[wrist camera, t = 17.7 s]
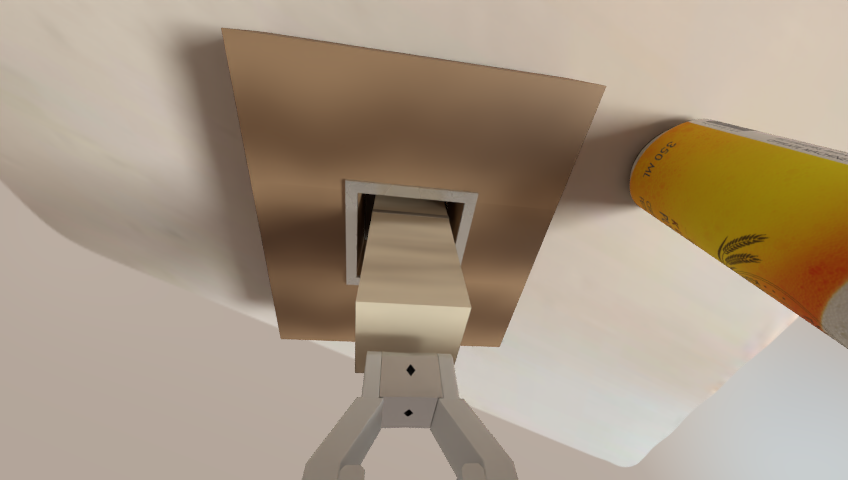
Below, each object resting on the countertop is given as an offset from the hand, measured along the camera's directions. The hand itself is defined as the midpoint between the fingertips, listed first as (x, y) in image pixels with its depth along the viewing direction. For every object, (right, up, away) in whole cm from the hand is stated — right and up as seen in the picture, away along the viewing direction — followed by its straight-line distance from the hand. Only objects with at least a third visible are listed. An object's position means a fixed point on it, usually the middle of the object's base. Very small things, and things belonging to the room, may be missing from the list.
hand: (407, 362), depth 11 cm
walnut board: (-1, +7, +10) cm, 12 cm away
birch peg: (-1, +7, +10) cm, 12 cm away
